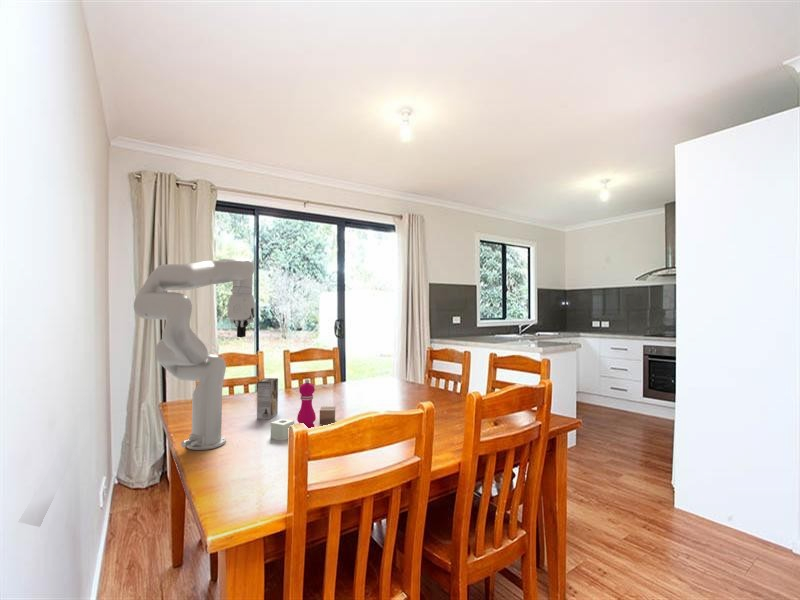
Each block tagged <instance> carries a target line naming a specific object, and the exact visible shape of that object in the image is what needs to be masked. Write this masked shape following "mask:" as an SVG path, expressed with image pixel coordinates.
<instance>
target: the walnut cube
mask: <svg viewBox="0 0 800 600" xmlns="http://www.w3.org/2000/svg"><path fill="white" fill-rule="evenodd" d="M334 422H336V406H320V409H319V422H318V423H319V424H322V425H323V426H325V425H326V424H331V423H334ZM319 424H318V425H319ZM334 424H335V423H334ZM331 425H332V424H331Z"/></svg>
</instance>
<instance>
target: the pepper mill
mask: <svg viewBox="0 0 800 600" xmlns="http://www.w3.org/2000/svg"><path fill="white" fill-rule="evenodd" d="M298 391H299V393H300V400H301V405H300V408H299V411H298V413H297V417H296V420H297V422H298V424H300V423H304V424H305V425H306V426H307V427H308V428H311V427H314V428H315V423H314V422H315V421H316V419H317V417H316V413H315V410H314V408H313V399H314V395H313V394H314V393H315V391H316V389H315V386H314V384H313V383H311V382H310V380H309V379H308V378H306V379H305V380H304V383H302V384H301V385H299V390H298Z"/></svg>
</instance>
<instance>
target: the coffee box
mask: <svg viewBox="0 0 800 600" xmlns="http://www.w3.org/2000/svg"><path fill="white" fill-rule="evenodd" d="M256 387H257V388H256V419H257V420H271V419H273V418H274V417H275V416H276V415H277V414H278V411H279V410H278V409H279V408H278V406H279V405H278V404H279V398H278V397H279V394H278V393H279V378H271V377H268V378H267V377H266V378H265V377H264V378H262V379H261V380H259V381H257V383H256Z"/></svg>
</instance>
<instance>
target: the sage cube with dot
mask: <svg viewBox="0 0 800 600" xmlns="http://www.w3.org/2000/svg"><path fill="white" fill-rule="evenodd" d="M293 424H294V425H295V420H291V419H285V418H280V419H277V420H275V421H272V422H270V439H274V440H278V441H286V440H287V438H288V428H289V426H290V425H293ZM288 439H289V438H288Z"/></svg>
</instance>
